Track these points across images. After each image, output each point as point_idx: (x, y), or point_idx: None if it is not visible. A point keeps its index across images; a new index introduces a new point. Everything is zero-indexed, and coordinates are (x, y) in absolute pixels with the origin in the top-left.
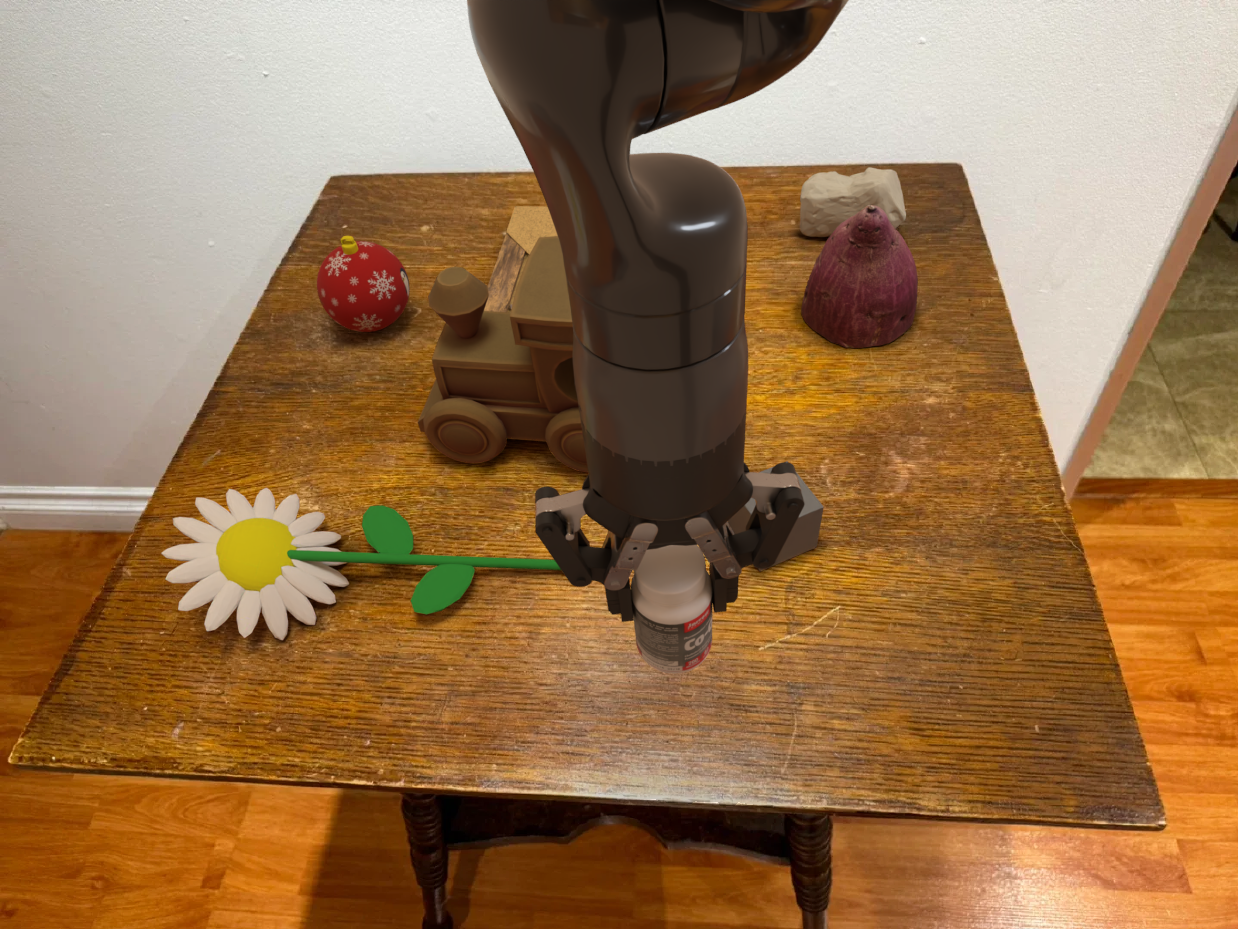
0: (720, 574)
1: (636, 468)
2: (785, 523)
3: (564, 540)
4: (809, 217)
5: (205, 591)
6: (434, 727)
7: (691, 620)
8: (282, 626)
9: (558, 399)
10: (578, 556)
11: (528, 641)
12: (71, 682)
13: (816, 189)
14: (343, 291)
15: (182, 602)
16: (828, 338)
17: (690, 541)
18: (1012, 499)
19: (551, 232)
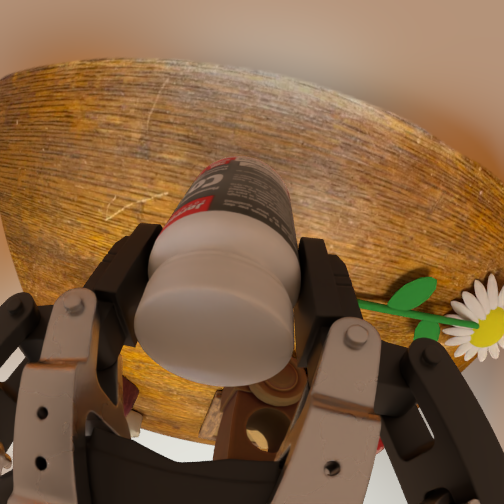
0: (95, 305)
1: None
2: None
3: (482, 496)
4: (136, 422)
5: None
6: (447, 188)
7: (191, 213)
8: (491, 282)
9: (293, 412)
10: (448, 440)
11: (366, 239)
12: None
13: (131, 433)
14: (381, 440)
15: None
16: (123, 377)
17: (114, 455)
18: (27, 270)
19: (266, 442)
